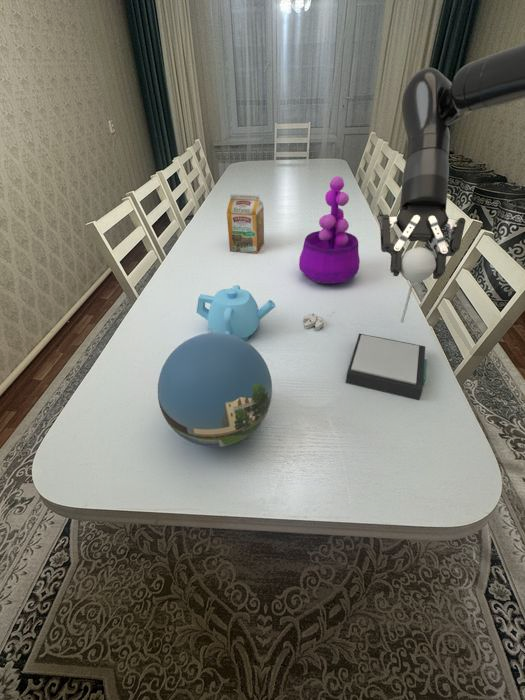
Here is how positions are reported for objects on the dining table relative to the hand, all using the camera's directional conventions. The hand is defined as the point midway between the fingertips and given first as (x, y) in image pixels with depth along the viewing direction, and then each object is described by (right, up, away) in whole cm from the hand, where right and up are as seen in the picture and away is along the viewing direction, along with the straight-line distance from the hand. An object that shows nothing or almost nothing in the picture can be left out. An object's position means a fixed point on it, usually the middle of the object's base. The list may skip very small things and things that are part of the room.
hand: (416, 275), depth 62 cm
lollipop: (+1, -8, +8) cm, 11 cm away
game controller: (-11, -5, +34) cm, 36 cm away
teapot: (-33, -8, +32) cm, 47 cm away
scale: (+1, -17, +19) cm, 25 cm away
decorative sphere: (-35, -28, +7) cm, 45 cm away
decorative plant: (-6, +11, +54) cm, 55 cm away
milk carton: (-33, +26, +75) cm, 85 cm away
